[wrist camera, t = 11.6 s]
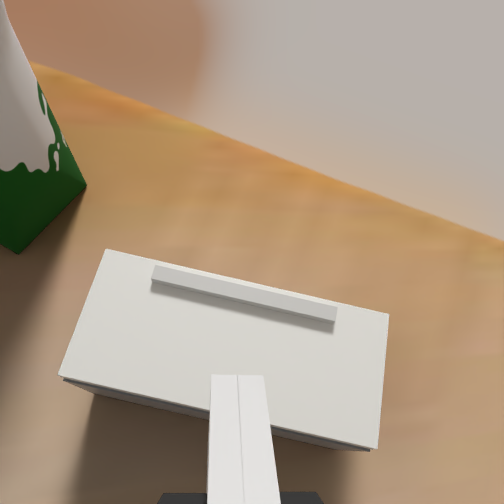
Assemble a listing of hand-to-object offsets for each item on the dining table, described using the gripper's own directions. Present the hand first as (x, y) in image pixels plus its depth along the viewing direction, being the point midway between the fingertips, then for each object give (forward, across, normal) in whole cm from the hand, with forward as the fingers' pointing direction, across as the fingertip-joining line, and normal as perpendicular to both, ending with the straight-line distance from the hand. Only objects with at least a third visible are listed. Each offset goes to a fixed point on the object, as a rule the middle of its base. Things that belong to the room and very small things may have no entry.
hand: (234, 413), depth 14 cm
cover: (+10, 0, -4) cm, 11 cm away
